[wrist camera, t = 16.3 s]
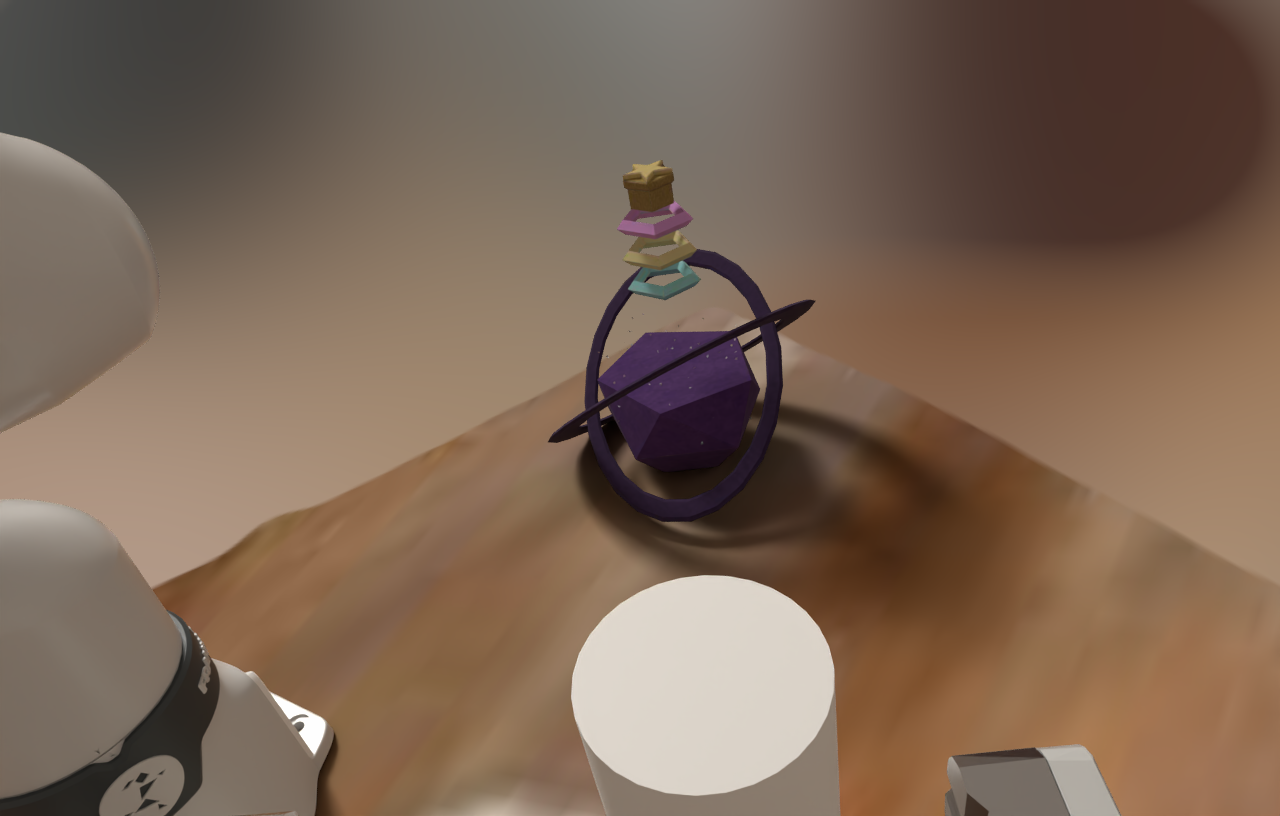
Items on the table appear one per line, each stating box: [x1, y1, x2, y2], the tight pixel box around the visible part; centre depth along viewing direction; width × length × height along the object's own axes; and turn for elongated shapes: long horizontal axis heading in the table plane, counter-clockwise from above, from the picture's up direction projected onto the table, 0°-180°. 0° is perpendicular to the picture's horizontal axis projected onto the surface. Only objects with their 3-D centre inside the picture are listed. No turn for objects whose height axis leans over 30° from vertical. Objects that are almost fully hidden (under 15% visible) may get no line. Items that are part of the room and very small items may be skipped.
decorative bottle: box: [548, 160, 815, 522], centre depth 67 cm, size 22×21×25 cm
